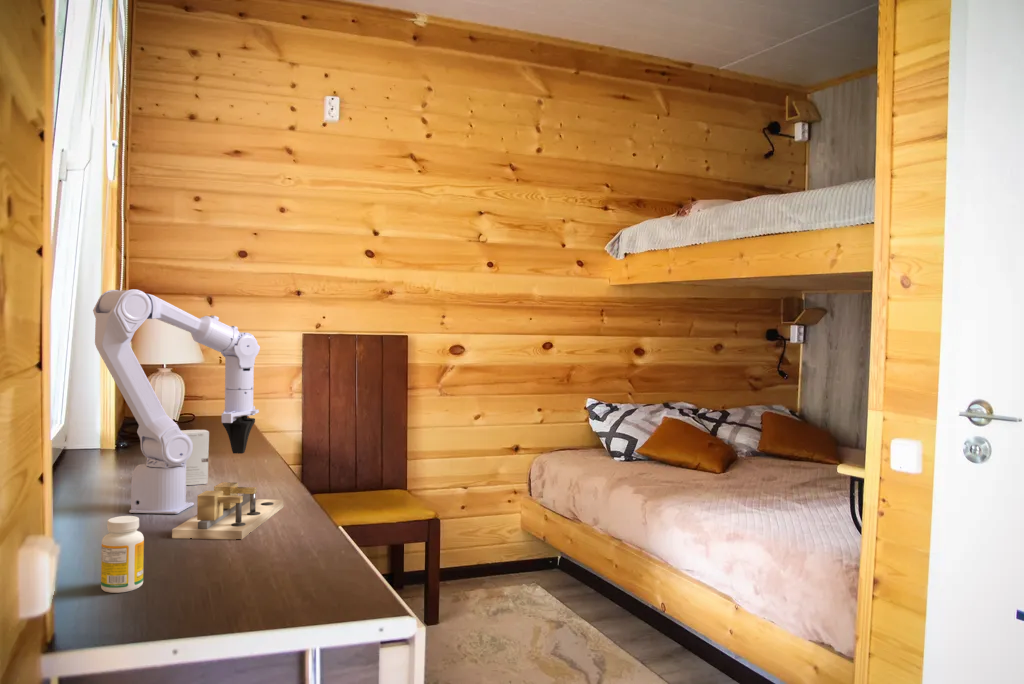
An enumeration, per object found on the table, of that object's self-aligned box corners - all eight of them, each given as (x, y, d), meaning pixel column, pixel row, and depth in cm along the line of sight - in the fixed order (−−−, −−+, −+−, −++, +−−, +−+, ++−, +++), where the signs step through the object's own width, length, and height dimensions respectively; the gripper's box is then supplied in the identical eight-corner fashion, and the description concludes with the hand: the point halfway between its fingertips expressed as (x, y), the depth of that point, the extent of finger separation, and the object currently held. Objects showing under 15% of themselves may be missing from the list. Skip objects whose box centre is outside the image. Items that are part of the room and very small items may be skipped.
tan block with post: (213, 513, 146) (214, 486, 146) (221, 508, 150) (222, 482, 150) (251, 514, 146) (252, 487, 146) (258, 509, 150) (259, 483, 150)
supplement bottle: (111, 596, 108) (111, 526, 108) (94, 587, 112) (94, 519, 111) (150, 586, 112) (151, 519, 112) (133, 578, 116) (133, 512, 115)
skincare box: (180, 486, 178) (181, 432, 178) (176, 483, 182) (177, 430, 182) (209, 484, 182) (209, 431, 182) (204, 480, 186) (205, 428, 185)
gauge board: (172, 538, 137) (172, 497, 137) (224, 505, 161) (224, 471, 161) (241, 539, 137) (242, 499, 137) (283, 507, 161) (283, 472, 161)
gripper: (246, 392, 161) (245, 459, 161) (269, 386, 176) (268, 447, 176) (211, 391, 161) (210, 458, 161) (237, 385, 176) (236, 447, 176)
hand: (238, 453), depth 169 cm, fingers closed
